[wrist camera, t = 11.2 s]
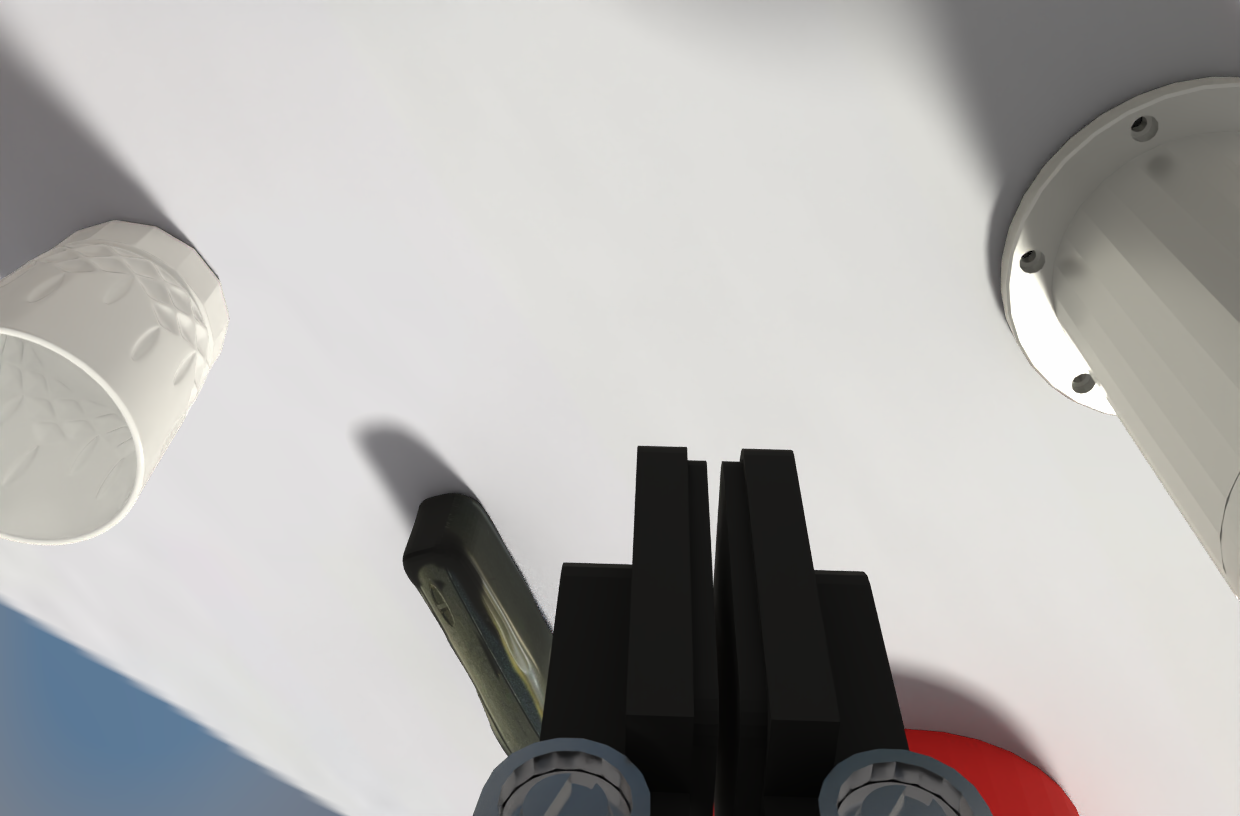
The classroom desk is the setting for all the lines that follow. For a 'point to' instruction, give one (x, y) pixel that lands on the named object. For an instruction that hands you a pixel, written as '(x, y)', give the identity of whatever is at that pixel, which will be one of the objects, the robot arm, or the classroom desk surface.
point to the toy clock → (995, 774)
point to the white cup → (98, 374)
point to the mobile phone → (483, 613)
